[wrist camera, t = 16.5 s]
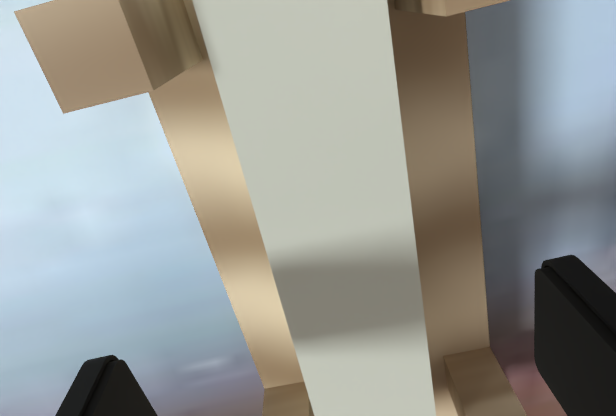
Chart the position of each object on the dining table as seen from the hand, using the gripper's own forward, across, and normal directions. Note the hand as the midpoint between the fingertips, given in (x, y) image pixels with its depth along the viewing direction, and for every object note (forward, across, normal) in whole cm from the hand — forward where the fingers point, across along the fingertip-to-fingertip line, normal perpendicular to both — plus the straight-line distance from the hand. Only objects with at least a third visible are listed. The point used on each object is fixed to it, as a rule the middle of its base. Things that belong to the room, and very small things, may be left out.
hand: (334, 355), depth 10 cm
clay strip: (+7, -1, 0) cm, 7 cm away
